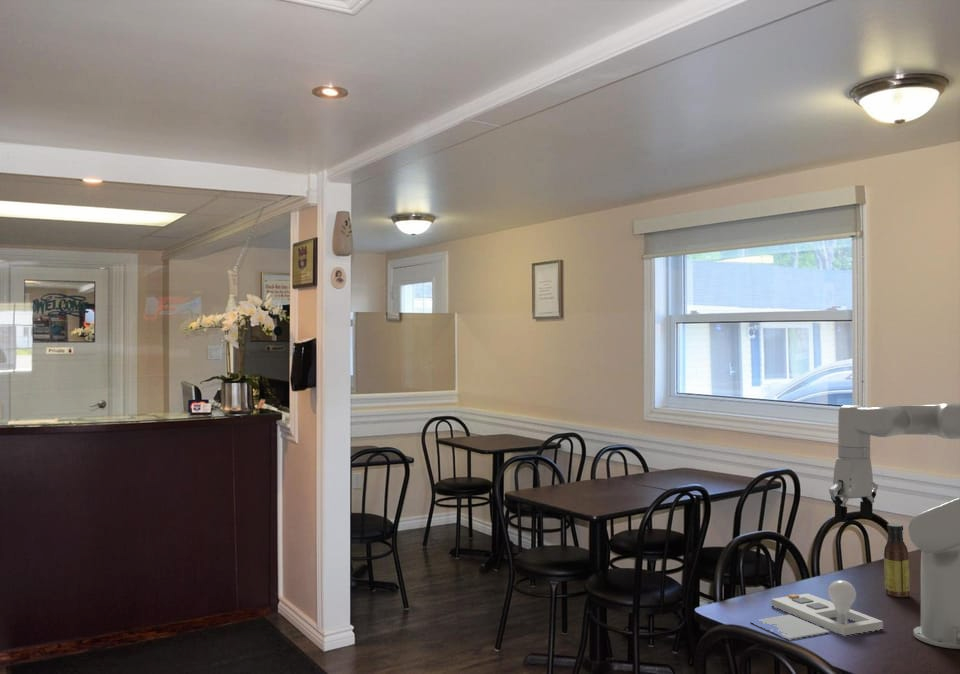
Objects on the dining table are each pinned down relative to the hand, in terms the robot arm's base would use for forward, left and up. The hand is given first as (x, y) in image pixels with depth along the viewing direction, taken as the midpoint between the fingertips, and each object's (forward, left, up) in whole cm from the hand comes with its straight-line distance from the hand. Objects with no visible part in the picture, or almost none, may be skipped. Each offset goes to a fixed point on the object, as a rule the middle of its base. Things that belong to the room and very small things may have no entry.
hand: (853, 519), depth 204 cm
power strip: (+3, +7, -25) cm, 26 cm away
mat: (+1, +21, -25) cm, 33 cm away
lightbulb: (-2, +7, -26) cm, 26 cm away
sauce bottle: (+10, -27, -26) cm, 39 cm away
